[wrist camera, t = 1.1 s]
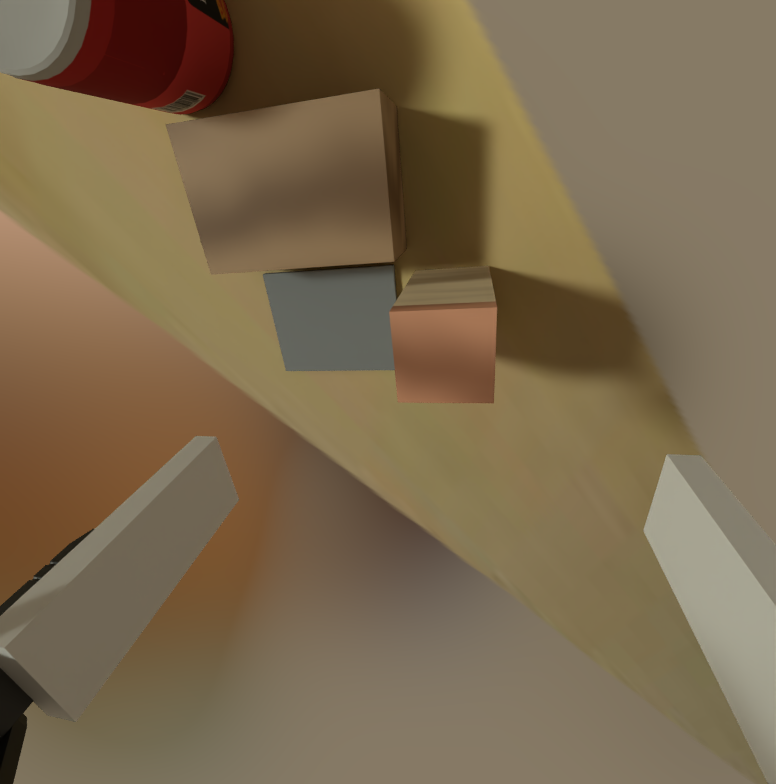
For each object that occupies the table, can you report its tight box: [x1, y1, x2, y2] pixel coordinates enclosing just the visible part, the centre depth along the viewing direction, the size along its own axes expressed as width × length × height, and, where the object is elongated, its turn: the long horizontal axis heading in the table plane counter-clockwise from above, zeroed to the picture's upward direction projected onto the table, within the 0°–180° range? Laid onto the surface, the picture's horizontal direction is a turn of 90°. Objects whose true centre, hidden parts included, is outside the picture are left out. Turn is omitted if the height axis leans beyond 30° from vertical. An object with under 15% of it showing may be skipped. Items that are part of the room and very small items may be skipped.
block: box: [389, 266, 497, 403], centre depth 23 cm, size 5×5×10 cm
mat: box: [263, 265, 397, 371], centre depth 30 cm, size 8×10×1 cm
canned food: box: [0, 0, 234, 114], centre depth 18 cm, size 8×8×11 cm
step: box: [166, 89, 407, 274], centre depth 24 cm, size 8×12×5 cm, turn 96°
